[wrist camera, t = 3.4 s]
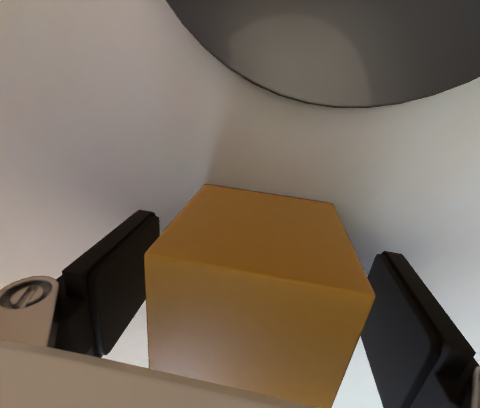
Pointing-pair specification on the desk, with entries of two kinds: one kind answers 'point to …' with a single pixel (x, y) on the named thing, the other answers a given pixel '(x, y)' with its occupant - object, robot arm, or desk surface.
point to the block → (256, 295)
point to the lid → (341, 46)
